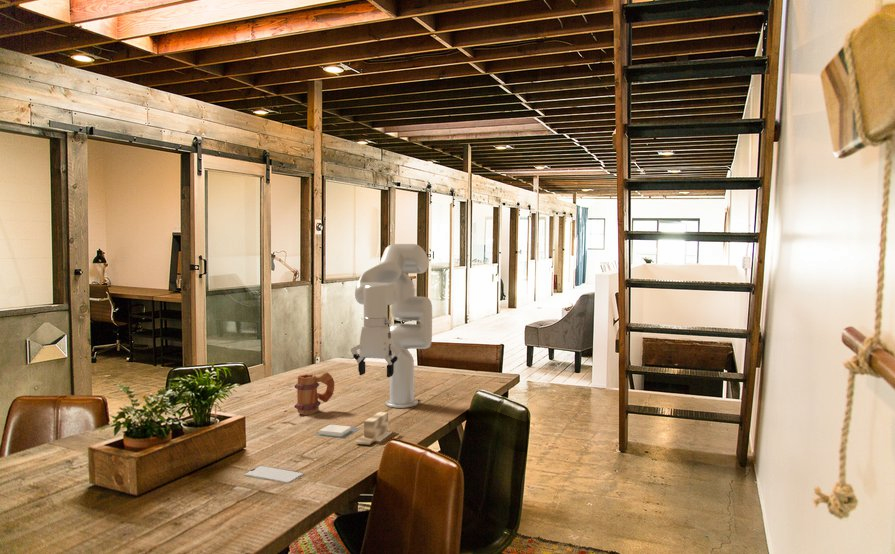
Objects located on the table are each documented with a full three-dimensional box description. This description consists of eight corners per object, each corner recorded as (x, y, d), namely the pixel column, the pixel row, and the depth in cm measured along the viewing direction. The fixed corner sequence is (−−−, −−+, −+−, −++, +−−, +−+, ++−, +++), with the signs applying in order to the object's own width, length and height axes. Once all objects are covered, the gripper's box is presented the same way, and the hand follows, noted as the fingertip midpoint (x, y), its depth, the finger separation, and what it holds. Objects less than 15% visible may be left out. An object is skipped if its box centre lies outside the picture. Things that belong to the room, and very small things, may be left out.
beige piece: (376, 429, 205) (376, 411, 204) (390, 430, 203) (390, 412, 203) (354, 444, 189) (354, 425, 189) (369, 445, 187) (369, 426, 187)
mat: (332, 426, 210) (332, 424, 210) (361, 429, 207) (361, 427, 207) (314, 436, 199) (314, 435, 199) (344, 440, 195) (344, 438, 195)
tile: (329, 424, 205) (319, 430, 199) (351, 426, 203) (341, 432, 196) (329, 428, 205) (319, 435, 199) (351, 431, 203) (341, 437, 196)
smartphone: (288, 482, 160) (242, 474, 165) (288, 485, 160) (242, 476, 165) (305, 473, 166) (260, 465, 172) (305, 475, 166) (260, 467, 172)
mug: (294, 417, 222) (294, 376, 221) (294, 411, 229) (293, 372, 229) (335, 414, 225) (335, 374, 225) (333, 409, 233) (333, 370, 233)
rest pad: (372, 432, 204) (372, 429, 204) (392, 434, 202) (392, 431, 202) (359, 441, 194) (359, 438, 194) (379, 443, 192) (379, 440, 192)
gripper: (404, 322, 197) (405, 374, 198) (356, 320, 203) (356, 371, 204) (396, 325, 190) (396, 379, 191) (345, 323, 196) (346, 376, 196)
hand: (375, 375), depth 197 cm, fingers open, 9 cm apart
